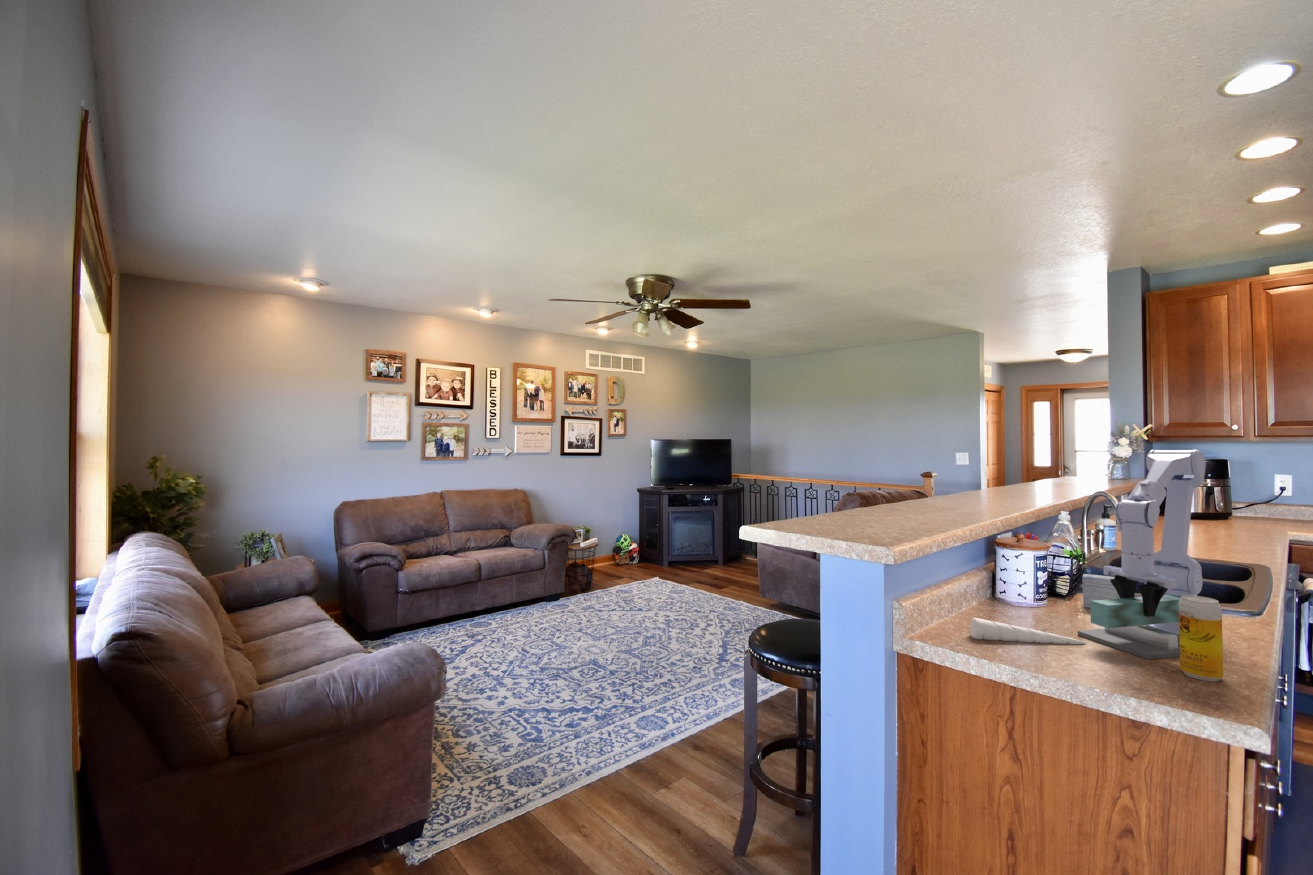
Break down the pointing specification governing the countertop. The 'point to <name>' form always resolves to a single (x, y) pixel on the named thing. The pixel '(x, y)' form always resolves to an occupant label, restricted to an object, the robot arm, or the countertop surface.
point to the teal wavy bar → (1132, 612)
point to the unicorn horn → (1014, 633)
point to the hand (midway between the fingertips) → (1139, 613)
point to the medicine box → (1097, 589)
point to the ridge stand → (1137, 641)
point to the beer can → (1201, 637)
